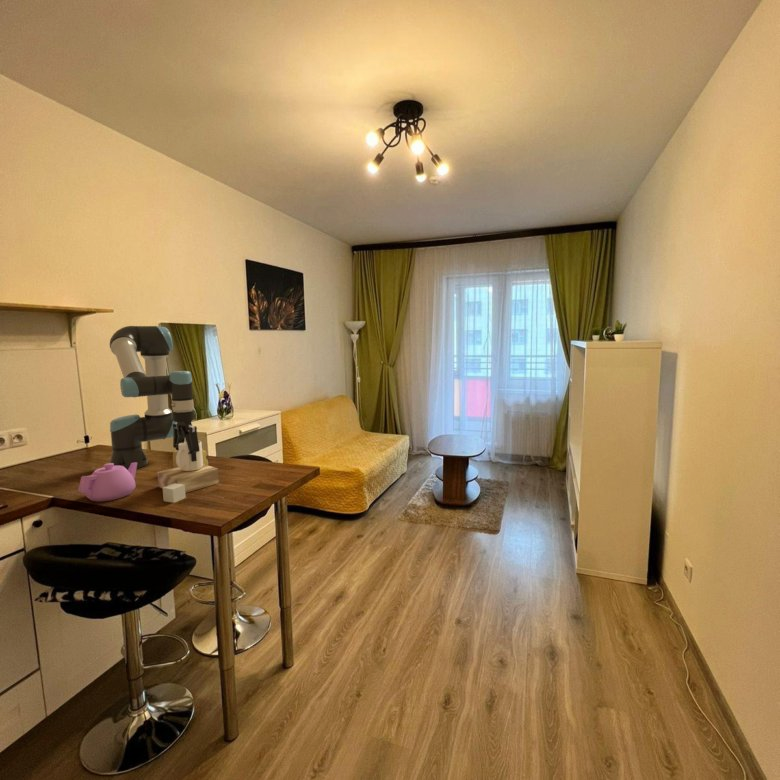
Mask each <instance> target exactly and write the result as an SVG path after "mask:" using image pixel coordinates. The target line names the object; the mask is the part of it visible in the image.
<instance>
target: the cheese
mask: <svg viewBox="0 0 780 780" xmlns="http://www.w3.org/2000/svg"><path fill="white" fill-rule="evenodd" d="M176 455H177V450H176V449H175V450H174V451H172V464H173V465H172V466H173V467H172V468H176V467H178V466H177V464H176ZM202 456H203V464H204V465H208V466H209V460H208V458H207V456H208V453H207V451H206V449H205V450H204V449H203V448H202Z"/></svg>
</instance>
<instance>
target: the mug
mask: <svg viewBox="0 0 780 780" xmlns="http://www.w3.org/2000/svg"><path fill="white" fill-rule="evenodd" d="M198 443H199V449H200V451H199V452H196V457H197V469H193V470H198V469H200V468H202V467H203V456H202V449H203V447H202V441H201V440H198ZM178 447H179V451H178V453H177V455H176V464H177V466H178V467H179V468H180V469H181V470H183V471H193V470H190V469H189V456H188V453H189V449H188V445H187V442H186V441H184V443H179V444H178Z"/></svg>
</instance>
